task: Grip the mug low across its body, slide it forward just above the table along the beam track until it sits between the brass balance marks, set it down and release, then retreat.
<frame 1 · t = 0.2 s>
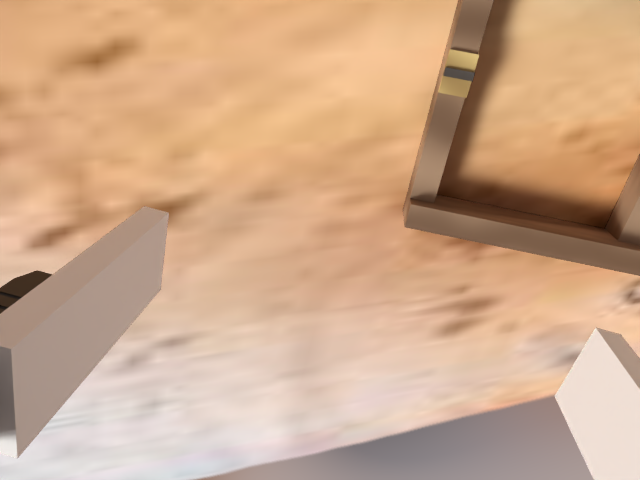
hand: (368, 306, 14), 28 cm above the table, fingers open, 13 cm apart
beam track: (583, 36, 35), on the table
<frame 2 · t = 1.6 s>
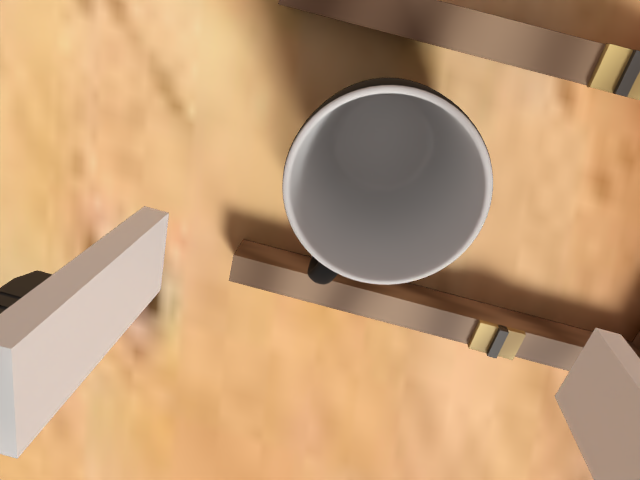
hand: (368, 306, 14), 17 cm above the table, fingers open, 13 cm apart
beam track: (477, 191, 30), on the table
mug: (370, 162, 30), on the table
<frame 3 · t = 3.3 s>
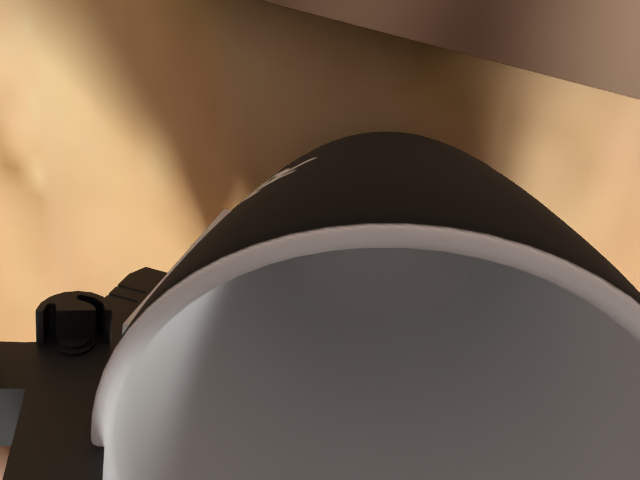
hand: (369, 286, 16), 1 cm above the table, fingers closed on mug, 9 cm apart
beam track: (552, 319, 17), on the table
mug: (358, 265, 17), on the table, touching gripper
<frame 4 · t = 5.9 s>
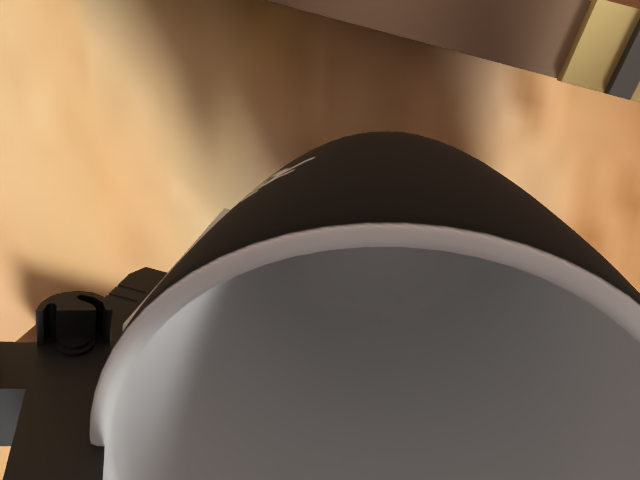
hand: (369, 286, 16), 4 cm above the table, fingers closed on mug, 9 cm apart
beam track: (391, 248, 19), on the table
mug: (358, 264, 17), point 2 cm above the table, touching gripper
when the fingers open (1 cm above the table, at t = 8.3 s): mug stays where it is, on the table.
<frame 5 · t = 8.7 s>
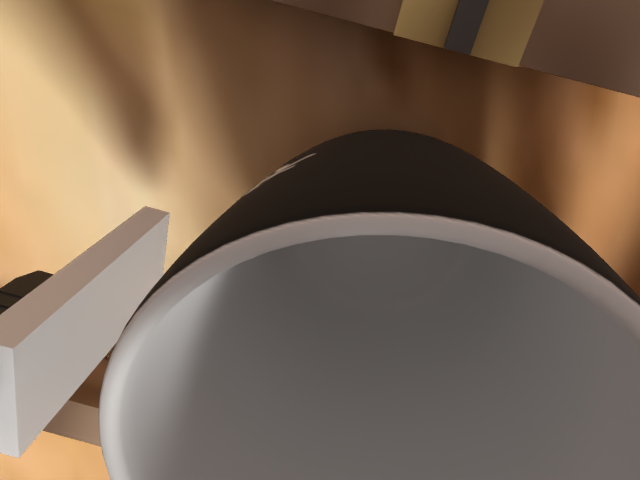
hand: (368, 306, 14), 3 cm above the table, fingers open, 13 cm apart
beam track: (262, 237, 17), on the table
mug: (358, 261, 17), on the table
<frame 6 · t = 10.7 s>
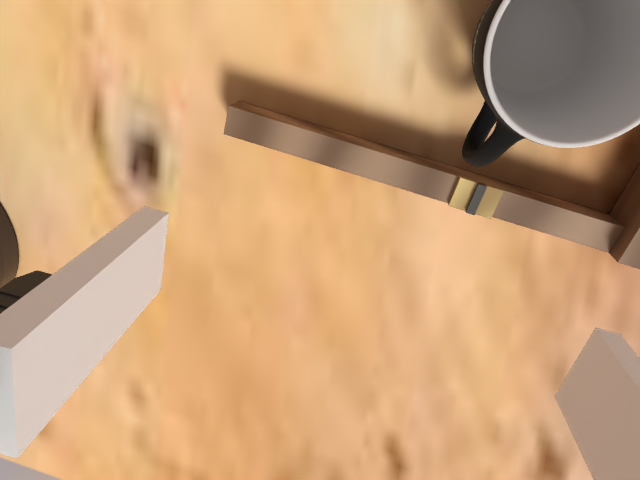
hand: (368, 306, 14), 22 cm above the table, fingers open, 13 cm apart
beam track: (462, 50, 31), on the table
mug: (513, 65, 31), on the table
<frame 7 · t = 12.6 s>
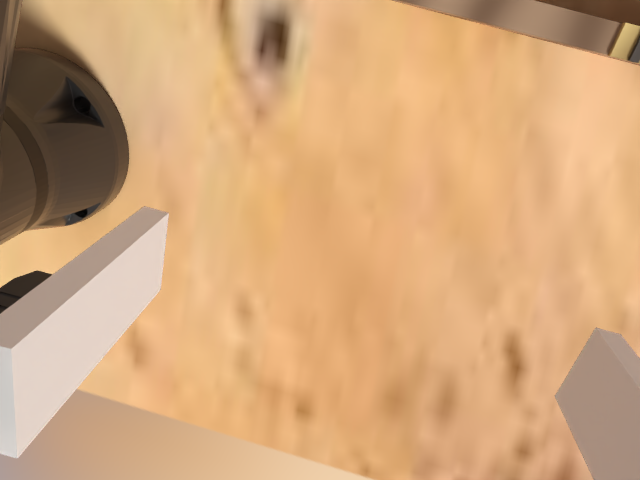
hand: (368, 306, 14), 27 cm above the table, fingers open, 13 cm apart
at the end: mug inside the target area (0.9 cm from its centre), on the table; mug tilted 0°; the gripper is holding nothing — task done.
